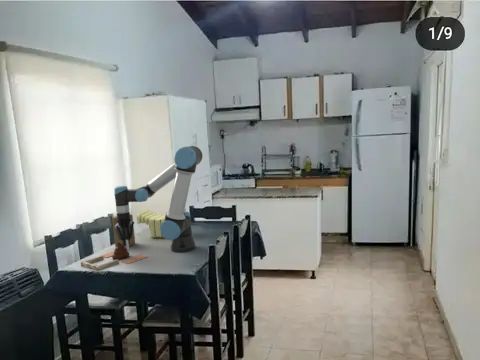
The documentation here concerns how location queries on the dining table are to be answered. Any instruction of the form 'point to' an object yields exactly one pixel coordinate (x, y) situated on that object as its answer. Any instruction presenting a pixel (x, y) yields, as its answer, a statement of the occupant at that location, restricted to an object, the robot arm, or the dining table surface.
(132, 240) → the wooden block
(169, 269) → the dining table surface
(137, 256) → the pads
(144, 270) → the dining table surface
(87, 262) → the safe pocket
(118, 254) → the poop emoji
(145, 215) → the slatted curved stool
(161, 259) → the dining table surface
